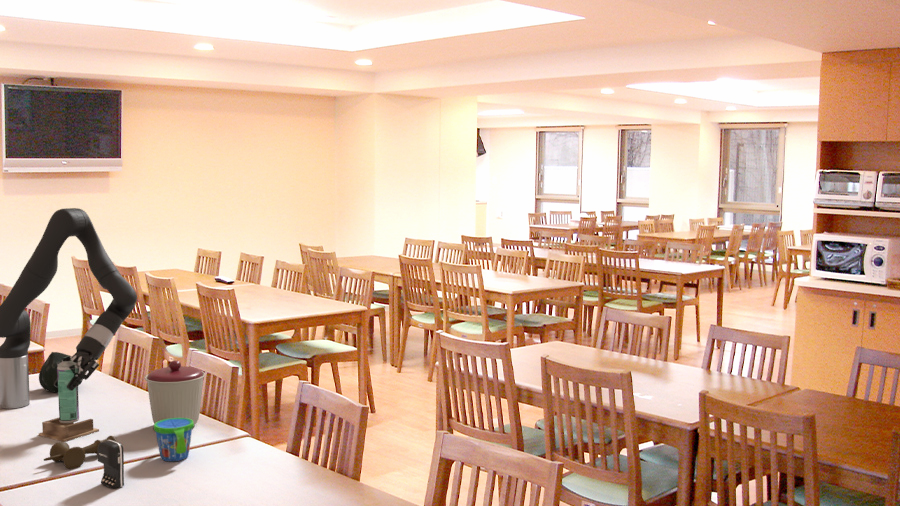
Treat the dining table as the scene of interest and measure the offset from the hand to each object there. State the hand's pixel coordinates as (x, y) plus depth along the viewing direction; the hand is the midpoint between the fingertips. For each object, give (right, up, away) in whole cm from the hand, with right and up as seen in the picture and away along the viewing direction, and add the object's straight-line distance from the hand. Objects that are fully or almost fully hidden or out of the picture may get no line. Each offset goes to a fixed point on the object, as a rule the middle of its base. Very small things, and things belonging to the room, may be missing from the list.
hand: (62, 387), depth 249 cm
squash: (-25, -10, +52) cm, 58 cm away
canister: (+31, -14, +11) cm, 36 cm away
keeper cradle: (+1, -14, +3) cm, 15 cm away
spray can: (+1, -11, +3) cm, 11 cm away
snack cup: (+40, -17, -17) cm, 46 cm away
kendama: (+14, -17, -21) cm, 30 cm away
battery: (+30, -19, -38) cm, 52 cm away
